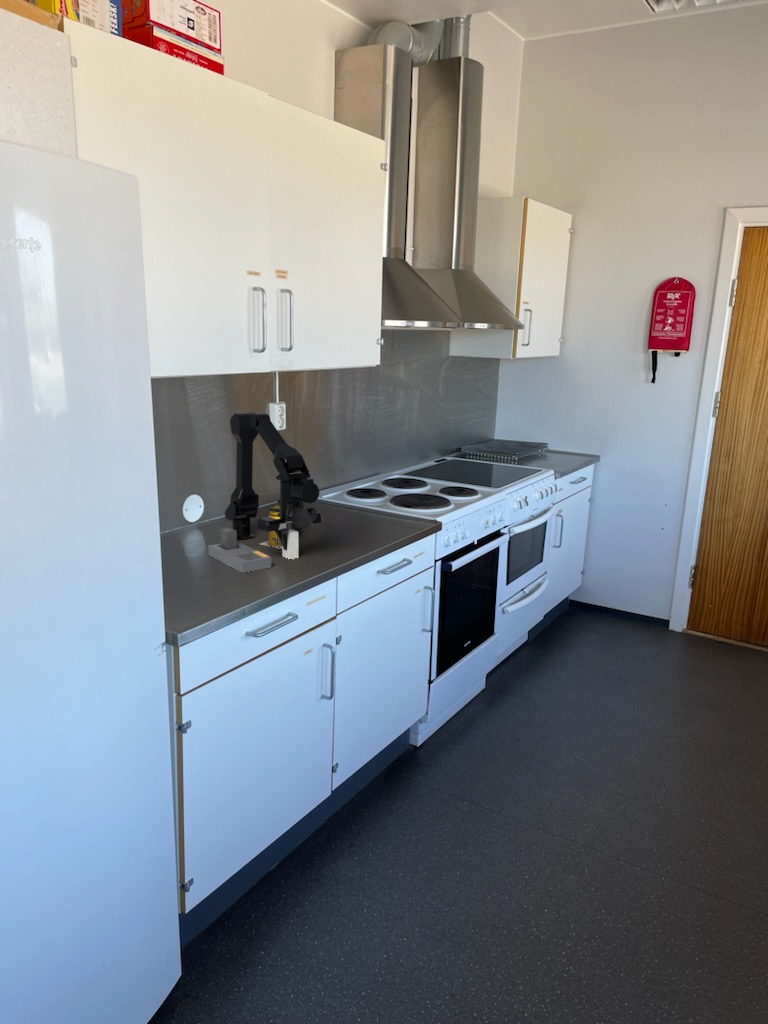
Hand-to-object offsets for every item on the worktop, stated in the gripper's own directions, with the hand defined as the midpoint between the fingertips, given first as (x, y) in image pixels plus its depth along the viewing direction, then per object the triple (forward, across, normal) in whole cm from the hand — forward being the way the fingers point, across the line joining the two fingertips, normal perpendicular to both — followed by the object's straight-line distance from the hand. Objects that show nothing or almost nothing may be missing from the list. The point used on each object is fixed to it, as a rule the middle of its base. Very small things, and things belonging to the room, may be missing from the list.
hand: (290, 548), depth 216 cm
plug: (+3, 0, 0) cm, 3 cm away
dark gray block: (+3, -14, +11) cm, 18 cm away
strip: (+2, -14, +5) cm, 15 cm away
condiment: (+3, +4, +14) cm, 15 cm away
